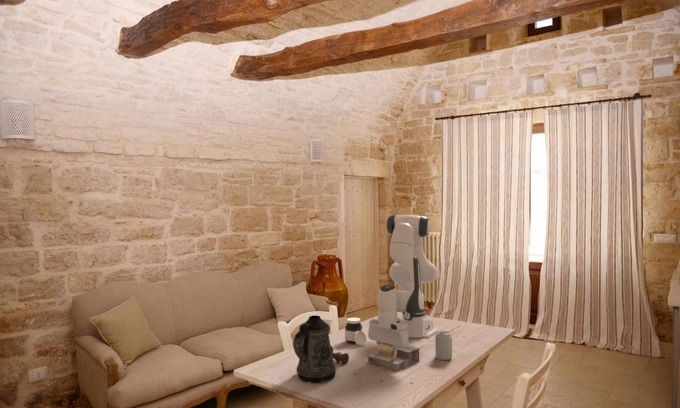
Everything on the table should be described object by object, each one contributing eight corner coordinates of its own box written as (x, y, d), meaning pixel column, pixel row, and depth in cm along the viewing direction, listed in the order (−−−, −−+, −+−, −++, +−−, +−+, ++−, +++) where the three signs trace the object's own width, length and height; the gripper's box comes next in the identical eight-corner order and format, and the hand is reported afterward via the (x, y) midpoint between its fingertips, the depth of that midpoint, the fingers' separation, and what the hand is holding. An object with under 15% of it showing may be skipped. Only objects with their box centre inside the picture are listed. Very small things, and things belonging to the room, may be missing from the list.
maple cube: (386, 341, 216) (377, 344, 212) (396, 344, 212) (388, 347, 208) (386, 354, 216) (377, 358, 212) (396, 357, 212) (388, 361, 208)
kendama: (339, 368, 209) (305, 358, 221) (352, 363, 217) (318, 353, 229) (340, 355, 209) (305, 345, 221) (353, 350, 217) (319, 340, 229)
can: (441, 354, 225) (441, 329, 225) (455, 358, 220) (455, 332, 220) (432, 358, 220) (432, 332, 220) (446, 362, 215) (446, 335, 214)
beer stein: (340, 370, 205) (339, 312, 205) (328, 388, 187) (328, 324, 186) (303, 367, 209) (303, 310, 209) (288, 384, 190) (288, 322, 190)
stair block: (391, 353, 227) (391, 340, 227) (419, 361, 216) (419, 348, 216) (368, 362, 215) (368, 349, 215) (396, 371, 204) (396, 357, 204)
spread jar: (351, 338, 252) (351, 316, 251) (371, 340, 247) (370, 318, 246) (341, 344, 241) (341, 321, 240) (361, 347, 236) (361, 324, 236)
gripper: (365, 319, 217) (365, 349, 217) (401, 327, 203) (402, 360, 203) (374, 316, 221) (374, 346, 221) (410, 324, 207) (410, 356, 207)
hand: (387, 353), depth 212 cm, fingers closed on maple cube, 6 cm apart
